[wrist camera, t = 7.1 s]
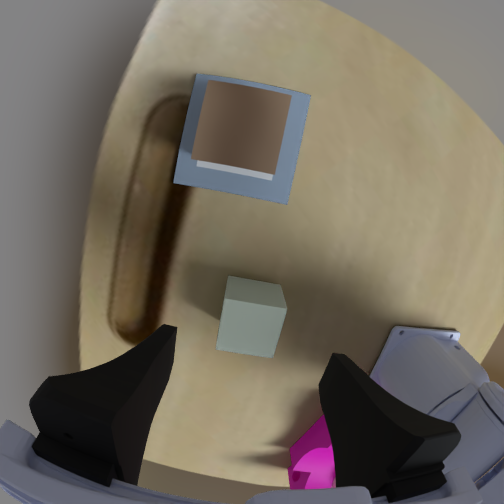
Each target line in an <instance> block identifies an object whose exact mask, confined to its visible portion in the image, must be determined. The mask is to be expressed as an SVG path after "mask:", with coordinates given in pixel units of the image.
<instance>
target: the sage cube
mask: <svg viewBox="0 0 504 504" xmlns="http://www.w3.org/2000/svg"><path fill="white" fill-rule="evenodd" d="M286 312H287V306H286V302H285V298H284V295H283V291H282V288H281V285H279V284H274V283H268V282H262V281H257V280H251V279H246V278H240V277H235V276H229V275H228V280H227V285H226V290H225V296H224V301H223V306H222V312H221V317H220V323H219V330H218V337H217V343H216V349H217V350H222V351H228V352H234V353H241V354H247V355H254V356H261V357H268V358H273V356H274V353H275V349H276V346H277V343H278V339H279V336H280V333H281V329H282V326H283V323H284V319H285V316H286Z"/></svg>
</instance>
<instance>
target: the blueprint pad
mask: <svg viewBox="0 0 504 504" xmlns="http://www.w3.org/2000/svg"><path fill="white" fill-rule="evenodd" d="M208 80H214V81H221V82H228V83H234V84H240V85H245V86H251V87H256V88H261V89H266V90H271V91H275V92H280V93H284V94H288V95H292V97H291V102H290V107H289V111H288V116H287V121H286V125H285V130H284V135H283V139H282V144H281V149H280V153H279V158H278V163H277V167H276V172H275V175H272V174H268V173H263V172H258V171H253V170H248V169H243V168H238V167H233V166H228V165H222V164H217V163H211V162H205V161H199V160H193V159H191V155H192V150H193V145H194V140H195V136H196V131H197V126H198V122H199V117H200V113H201V108H202V104H203V100H204V96H205V92H206V87H207V83H208ZM310 97H311V95H308V94H304V93H300V92H296V91H292V90H288V89H284V88H279V87H275V86H270V85H266V84H261V83H256V82H250V81H245V80H239V79H233V78H227V77H220V76H213V75H205V74H197V75H196V79H195V83H194V87H193V91H192V95H191V99H190V103H189V107H188V111H187V116H186V120H185V125H184V130H183V134H182V139H181V144H180V149H179V154H178V160H177V165H176V170H175V176H174V182H173V183H176V184H182V185H188V186H194V187H200V188H205V189H211V190H216V191H222V192H227V193H232V194H237V195H243V196H248V197H253V198H257V199H262V200H267V201H272V202H277V203H281V204H286V205H287V203H288V199H289V195H290V190H291V186H292V181H293V177H294V172H295V168H296V163H297V159H298V154H299V149H300V145H301V140H302V136H303V131H304V126H305V121H306V117H307V112H308V107H309V102H310Z"/></svg>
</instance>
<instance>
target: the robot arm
mask: <svg viewBox="0 0 504 504" xmlns="http://www.w3.org/2000/svg"><path fill="white" fill-rule="evenodd" d="M400 331H402V332H401V333H400ZM176 334H177V327H174V326H170V325H166V324H163V325H162V326H160V327H159V328H158V329H157V330H156V331H155V332H153V333H152V334H151V335H150V336H149V337H147V338H146V339H145V340H143V341H142V342H141V343H139V344H138V345H137V346H135V347H134V348H132V349H131V350H129V351H127V352H126V353H124V354H123V355H121V356H119V357H117V358H115V359H113V360H111V361H109V362H107V363H104V364H102V365H99V366H96V367H94V368H91V369H88V370H84V371H80V372H76V373H71V374H66V375H59V376H51V377H50V376H49V377H48V378H47V379H46V380H45V381H44V382H43V383H42V385H41V386H40V387H39V388H38V390H37V391H36V392H35V394H34V395H33V397H32V398H31V399H30V403H29V406H30V410H31V413H32V416H33V418H34V420H35V422H36V425H37V427H38V429H39V431H40V433H39V435H38V436H37V438H35V437H34V436H33V435H32V434H31V433H30V432H28V431H27V430H25V429H23V428H21V427H20V426H18V425H16V424H15V423H13V422H12V421H10V420H6V421H5V423H4V424H3V426H2V427H1V428H0V487H1V488H2V489H3V490H4V491H5V492H6V493H7V494H9V495H10V496H12V497H14V498H15V499H16V500H18V501H19V502H21V503H23V504H227V503H218V502H210V501H204V500H197V499H191V498H186V497H181V496H176V495H171V494H166V493H162V492H158V491H153V490H150V489H146V488H142V487H139V486H137V484H138V478H139V473H140V468H141V463H142V459H143V455H144V451H145V446H146V442H147V438H148V434H149V431H150V427H151V423H152V420H153V417H154V415H155V412H156V410H157V407H158V405H159V403H160V400H161V398H162V395H163V393H164V390H165V388H166V386H167V383H168V381H169V377H170V374H171V370H172V366H173V362H174V352H175V343H176ZM459 337H460V332H459V331H450V330H437V329H425V328H414V327H403V326H395V327H394V328H393V329H392V330H391V333H390V335H389V337H388V339H387V341H386V344H385V346H384V348H383V350H382V352H381V354H380V356H379V358H378V360H377V362H376V364H375V366H374V368H373V370H372V372H371V374H370V376H368V375H367V374H366V373H365V372H364V371H363V370H362V369H360V368H359V367H358V366H357V365H356V364H355V363H354V362H353V361H352V360H351V359H349V358H348V357H347V356H346V355H344V354H336V353H333V354H332V356H331V358H330V361H329V363H328V365H327V367H326V370H325V372H324V374H323V376H322V378H321V380H320V383H319V395H320V402H321V406H322V410H323V413H324V417H325V421H326V424H327V428H328V431H329V435H330V438H331V443H332V449H333V456H334V465H335V478H336V488H324V489H296V490H274V491H268V492H264V493H260V494H256V495H255V496H254V497H252V498H250V499H249V500H247V501H246V503H245V504H504V458H503V459H502V460H501V461H500V462H499V463H498V464H497V465H496V466H494V465H495V464H496V463H497V462H498V461H499V460H500V459H501V458H502V457H503V456H504V389H503V388H502V387H500V386H499V385H498V384H497V383H495V382H490V381H489V377H488V375H487V373H486V371H485V370H484V368H483V367H482V366H481V365H480V364H479V363H478V362H477V361H476V360H475V359H474V358H473V357H472V356H471V355H470V354H469V353H468V352H467V351H466V350H465V349H464V348H463V347H462V346H461V345H460V344H459V343H458V342H457V341H458V339H459ZM493 466H494V467H493ZM492 467H493V468H492ZM490 468H492V469H491V470H490V471H489V472H488V473H487V474H485V473H486V472H487V471H488V470H489V469H490ZM484 474H485V476H483V477H482V478H481V479H479V478H480V477H481V476H482V475H484ZM478 479H479V480H478ZM476 480H478V481H477V482H476V483H475V484H474V482H475V481H476Z"/></svg>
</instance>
